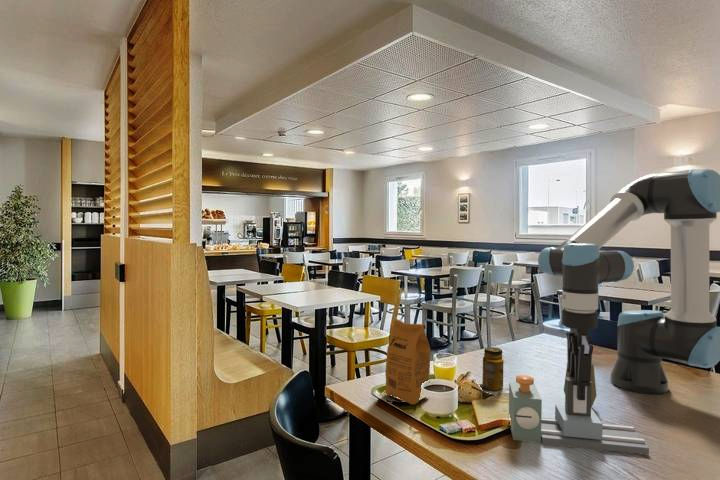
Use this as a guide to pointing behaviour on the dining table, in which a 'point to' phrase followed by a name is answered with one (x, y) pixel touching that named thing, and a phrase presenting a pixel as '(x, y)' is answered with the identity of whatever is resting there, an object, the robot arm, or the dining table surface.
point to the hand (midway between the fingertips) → (577, 409)
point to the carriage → (577, 416)
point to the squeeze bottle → (593, 386)
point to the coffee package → (407, 361)
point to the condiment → (493, 371)
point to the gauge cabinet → (525, 413)
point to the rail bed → (612, 439)
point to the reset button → (524, 382)
